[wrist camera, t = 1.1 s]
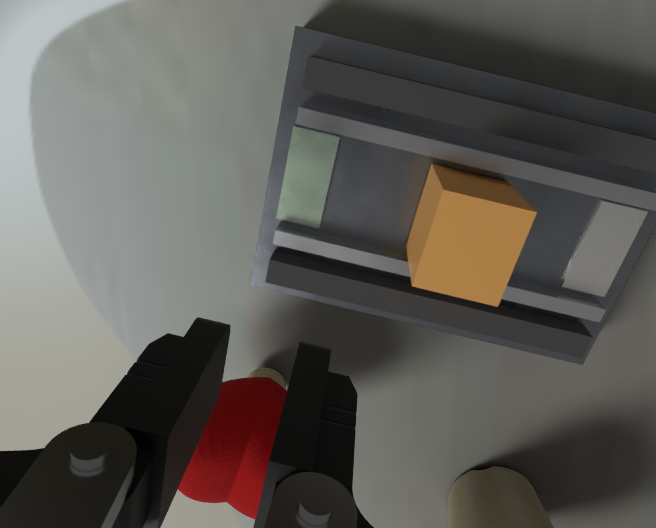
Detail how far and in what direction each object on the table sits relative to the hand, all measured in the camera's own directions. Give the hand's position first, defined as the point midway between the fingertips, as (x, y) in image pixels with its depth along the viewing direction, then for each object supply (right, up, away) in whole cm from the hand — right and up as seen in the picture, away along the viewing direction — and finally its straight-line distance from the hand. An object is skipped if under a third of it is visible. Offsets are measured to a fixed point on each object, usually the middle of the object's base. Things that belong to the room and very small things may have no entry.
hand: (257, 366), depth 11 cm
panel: (+9, +6, +17) cm, 20 cm away
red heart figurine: (-2, -5, +24) cm, 24 cm away
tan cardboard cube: (+8, +5, +15) cm, 18 cm away
